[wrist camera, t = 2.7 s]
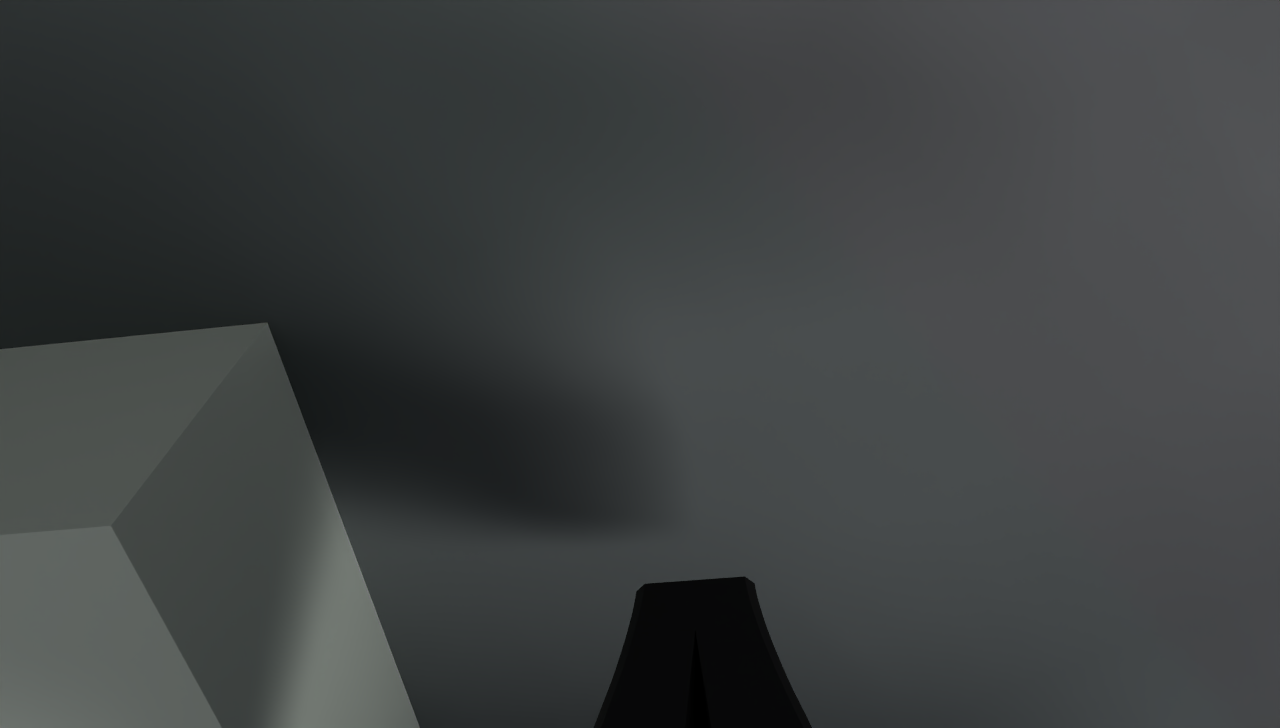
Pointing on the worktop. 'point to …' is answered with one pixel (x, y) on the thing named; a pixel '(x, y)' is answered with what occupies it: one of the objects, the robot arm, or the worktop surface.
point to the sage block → (176, 545)
